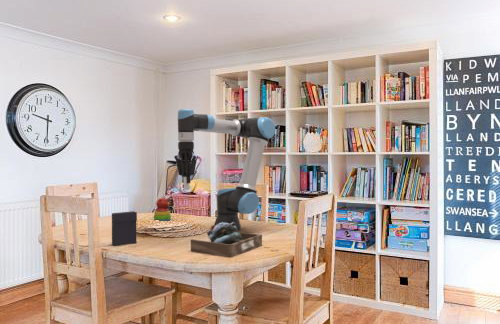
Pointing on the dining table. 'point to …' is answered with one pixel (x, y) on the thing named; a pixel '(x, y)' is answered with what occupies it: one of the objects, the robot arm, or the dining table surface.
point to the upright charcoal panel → (124, 228)
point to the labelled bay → (228, 245)
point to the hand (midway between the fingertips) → (186, 190)
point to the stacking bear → (162, 210)
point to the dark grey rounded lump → (224, 233)
